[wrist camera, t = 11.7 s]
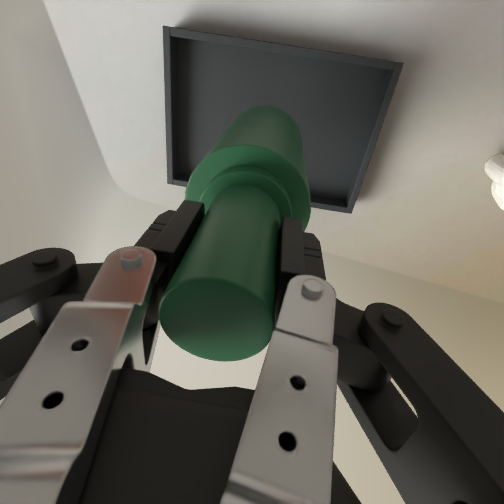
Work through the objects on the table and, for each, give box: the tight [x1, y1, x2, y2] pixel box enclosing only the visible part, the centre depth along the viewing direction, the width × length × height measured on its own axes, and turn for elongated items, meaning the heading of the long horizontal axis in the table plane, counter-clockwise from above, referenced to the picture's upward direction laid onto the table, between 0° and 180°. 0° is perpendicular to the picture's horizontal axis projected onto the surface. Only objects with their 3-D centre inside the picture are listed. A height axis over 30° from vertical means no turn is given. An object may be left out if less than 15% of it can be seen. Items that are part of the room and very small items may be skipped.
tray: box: [163, 26, 403, 214], centre depth 28 cm, size 19×13×2 cm
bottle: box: [158, 106, 311, 361], centre depth 15 cm, size 6×6×18 cm
